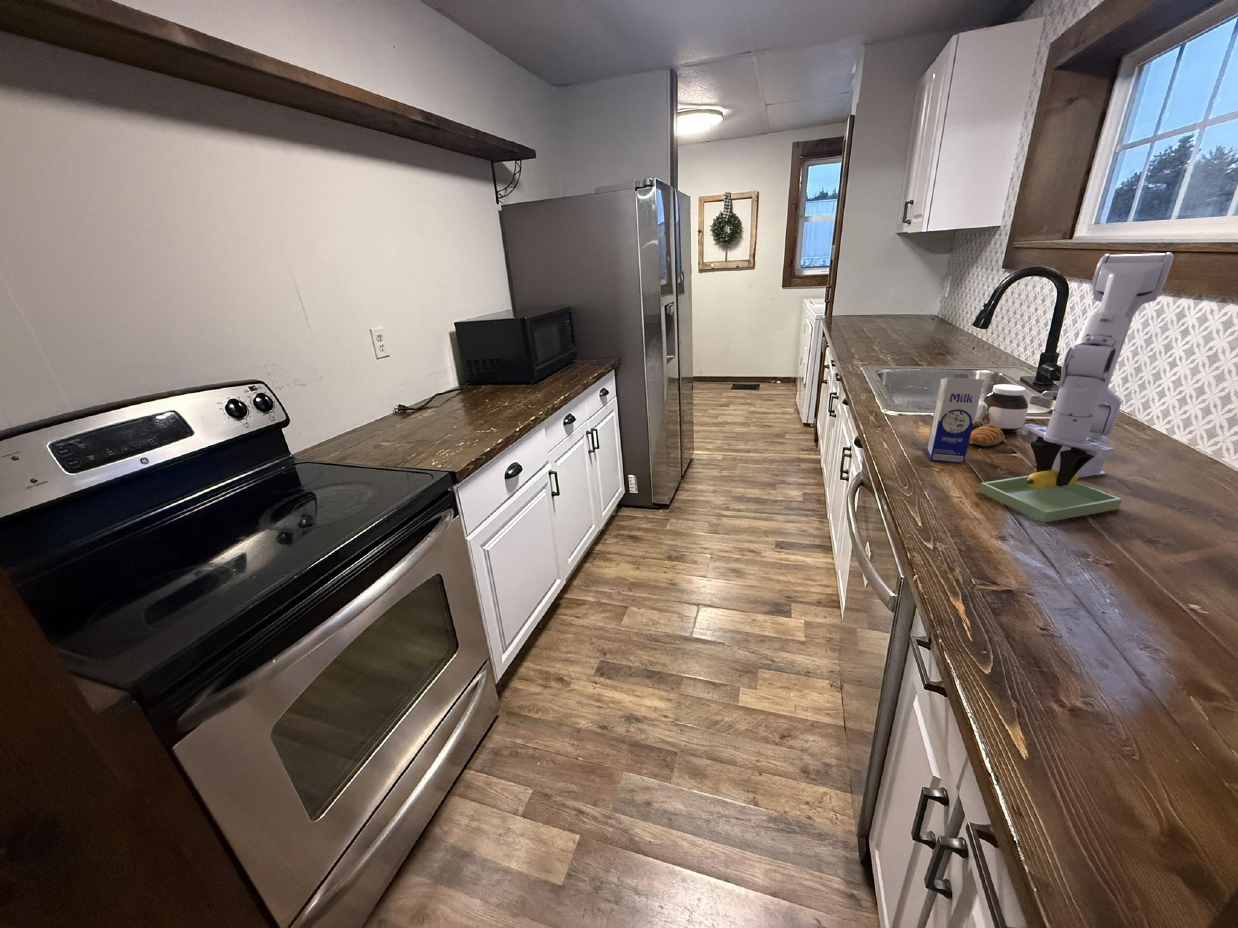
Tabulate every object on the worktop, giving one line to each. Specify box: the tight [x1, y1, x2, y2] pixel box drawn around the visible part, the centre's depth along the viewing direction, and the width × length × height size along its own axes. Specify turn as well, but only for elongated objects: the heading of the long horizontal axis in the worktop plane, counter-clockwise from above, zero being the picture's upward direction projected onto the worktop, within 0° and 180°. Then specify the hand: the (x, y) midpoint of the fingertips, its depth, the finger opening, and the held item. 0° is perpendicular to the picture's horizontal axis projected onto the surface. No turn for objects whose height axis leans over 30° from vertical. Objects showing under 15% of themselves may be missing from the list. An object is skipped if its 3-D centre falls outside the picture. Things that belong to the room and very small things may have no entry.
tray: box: [978, 475, 1123, 524], centre depth 96 cm, size 17×13×3 cm
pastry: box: [969, 425, 1005, 448], centre depth 126 cm, size 9×7×4 cm
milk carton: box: [925, 373, 985, 464], centre depth 115 cm, size 7×7×20 cm
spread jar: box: [974, 383, 1029, 434], centre depth 134 cm, size 12×11×12 cm
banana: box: [1027, 469, 1079, 489], centre depth 94 cm, size 11×3×3 cm, turn 103°
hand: (1051, 480), depth 95 cm, fingers closed on banana, 3 cm apart
